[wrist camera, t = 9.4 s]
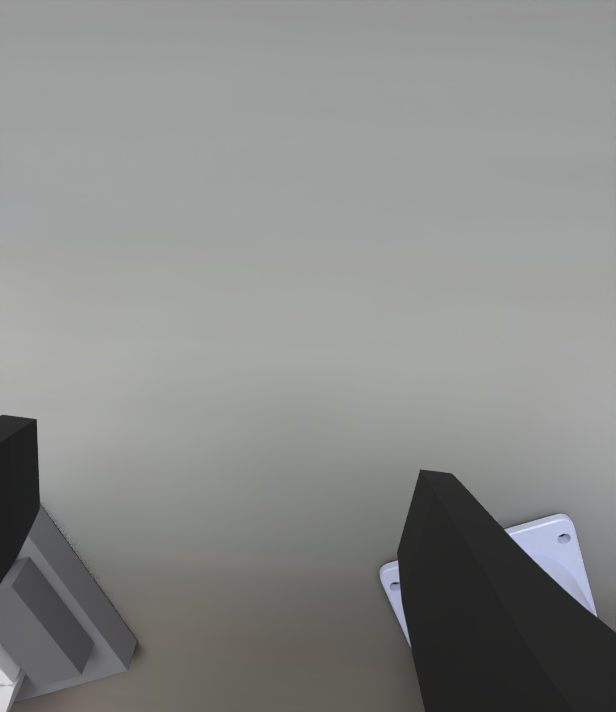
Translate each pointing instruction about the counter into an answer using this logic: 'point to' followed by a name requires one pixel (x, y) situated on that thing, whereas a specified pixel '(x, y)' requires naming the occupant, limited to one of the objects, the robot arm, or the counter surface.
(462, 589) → the robot arm
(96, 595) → the grey square plate
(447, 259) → the counter surface
